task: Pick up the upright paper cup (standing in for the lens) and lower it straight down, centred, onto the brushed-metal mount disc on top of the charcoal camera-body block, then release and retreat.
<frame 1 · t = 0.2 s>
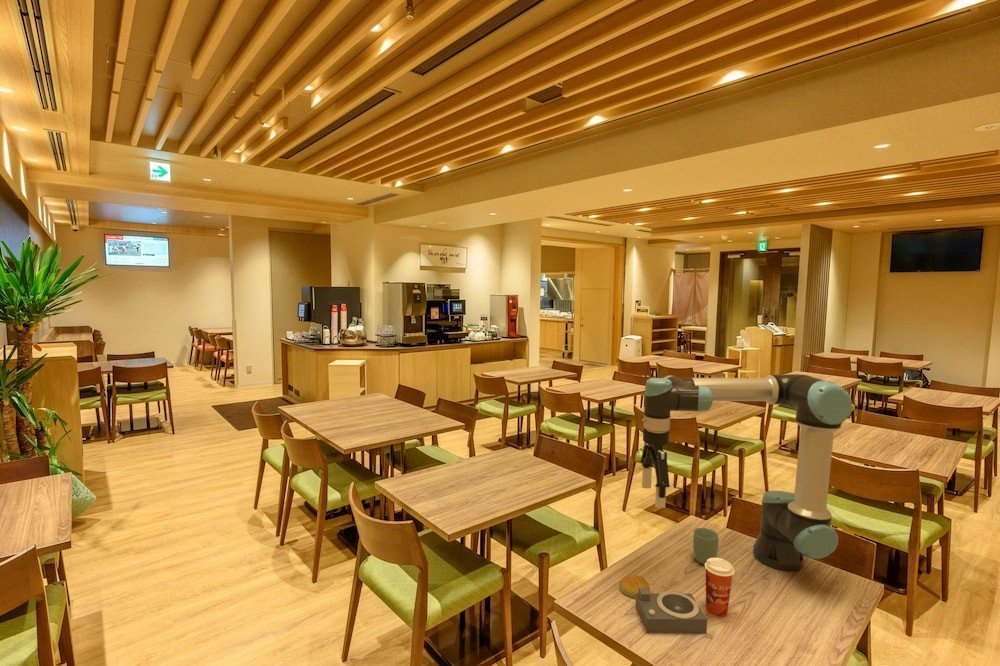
hand: (652, 497, 153), 28 cm above the table, fingers open, 13 cm apart
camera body: (669, 619, 138), on the table
bread roll: (634, 591, 151), on the table
paper cup: (716, 610, 143), on the table
cup: (704, 561, 168), on the table
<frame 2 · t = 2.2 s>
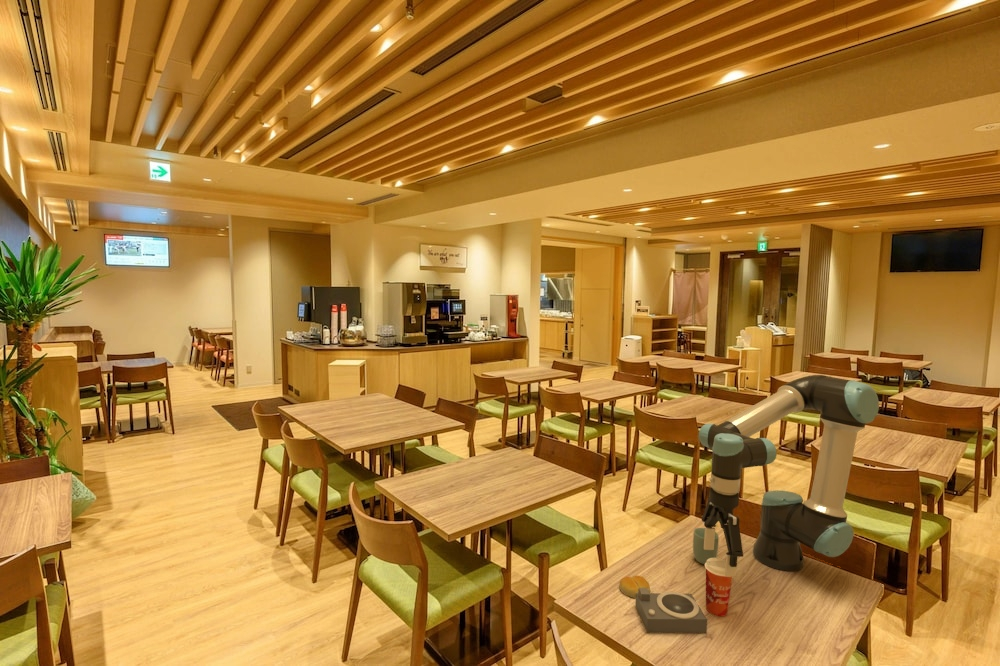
hand: (718, 562, 141), 15 cm above the table, fingers open, 13 cm apart
nothing on the table moved.
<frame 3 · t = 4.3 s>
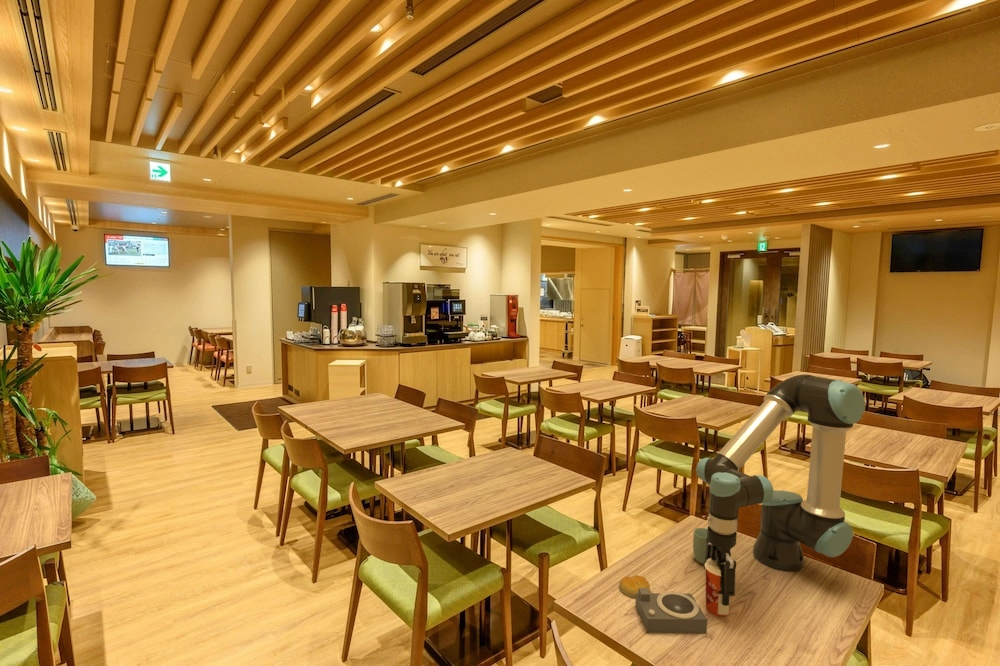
hand: (717, 605, 142), 1 cm above the table, fingers closed on paper cup, 7 cm apart
paper cup: (716, 610, 143), on the table, touching gripper
everything else where it was.
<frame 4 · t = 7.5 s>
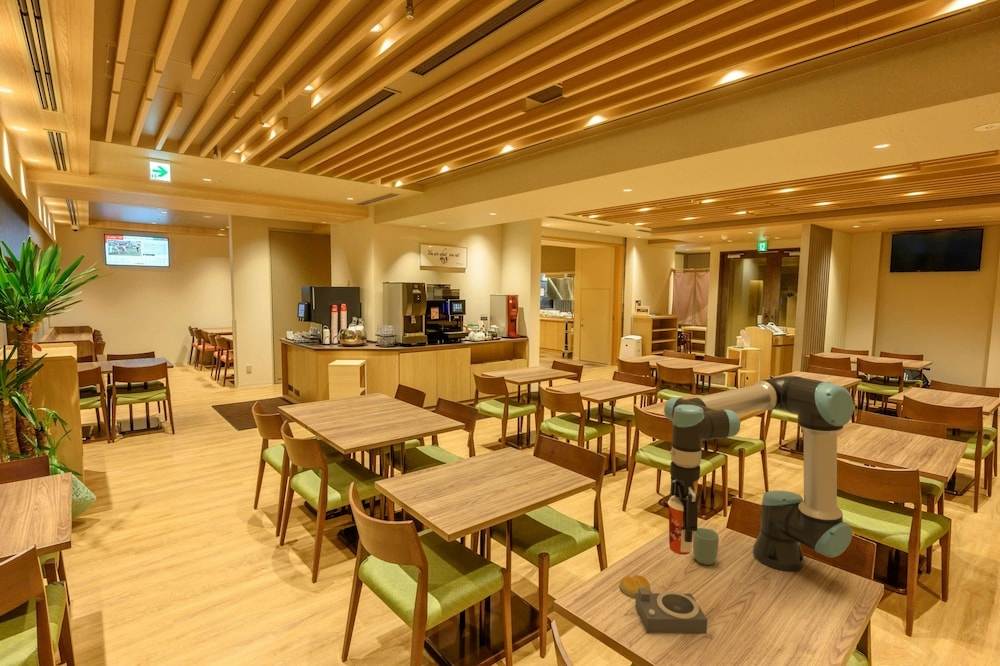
hand: (680, 544, 136), 22 cm above the table, fingers closed on paper cup, 7 cm apart
paper cup: (680, 549, 136), point 20 cm above the table, touching gripper
everything else where it was.
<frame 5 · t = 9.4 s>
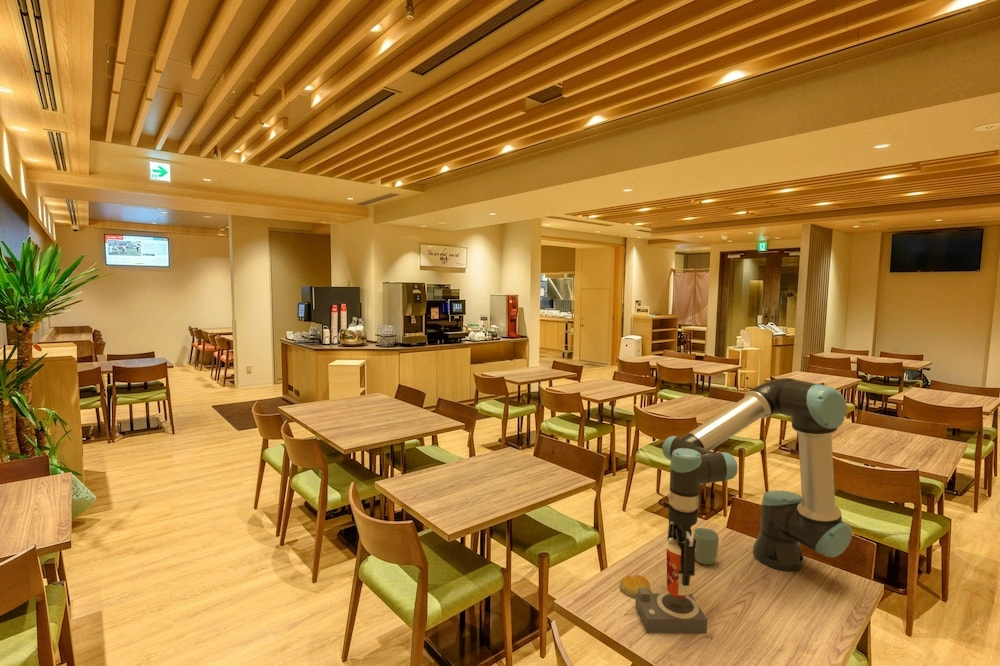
hand: (678, 586, 137), 10 cm above the table, fingers closed on paper cup, 7 cm apart
paper cup: (677, 591, 138), point 8 cm above the table, touching gripper
everything else where it was.
when the fingers open (7 cm above the table, at t = 10.8 s): paper cup drops 1 cm, resting on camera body.
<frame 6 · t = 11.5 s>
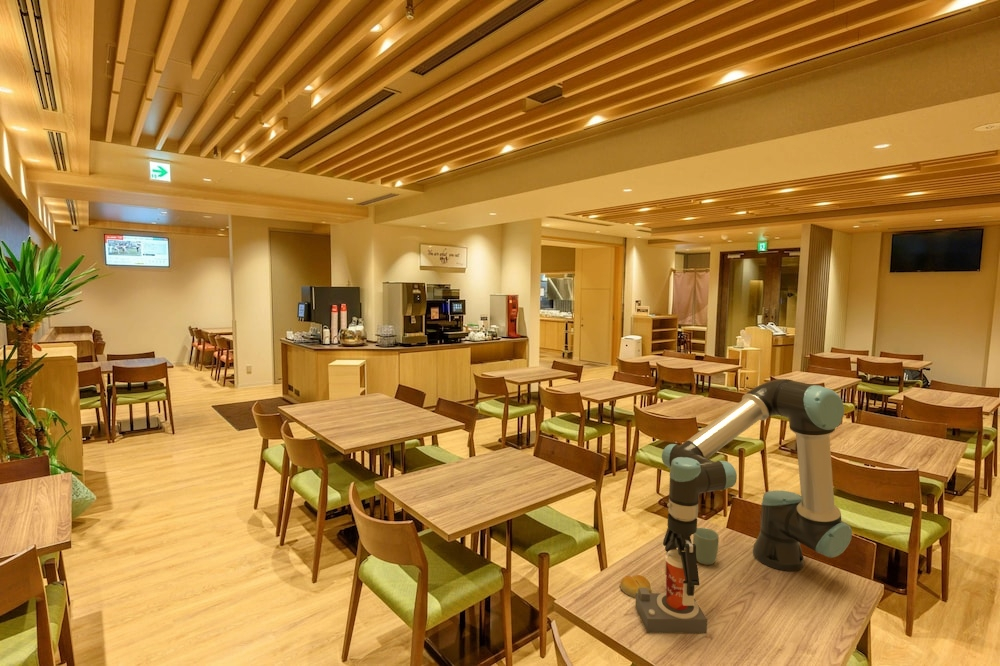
hand: (678, 588, 138), 9 cm above the table, fingers open, 13 cm apart
paper cup: (677, 604, 138), point 4 cm above the table, touching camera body
everything else where it was.
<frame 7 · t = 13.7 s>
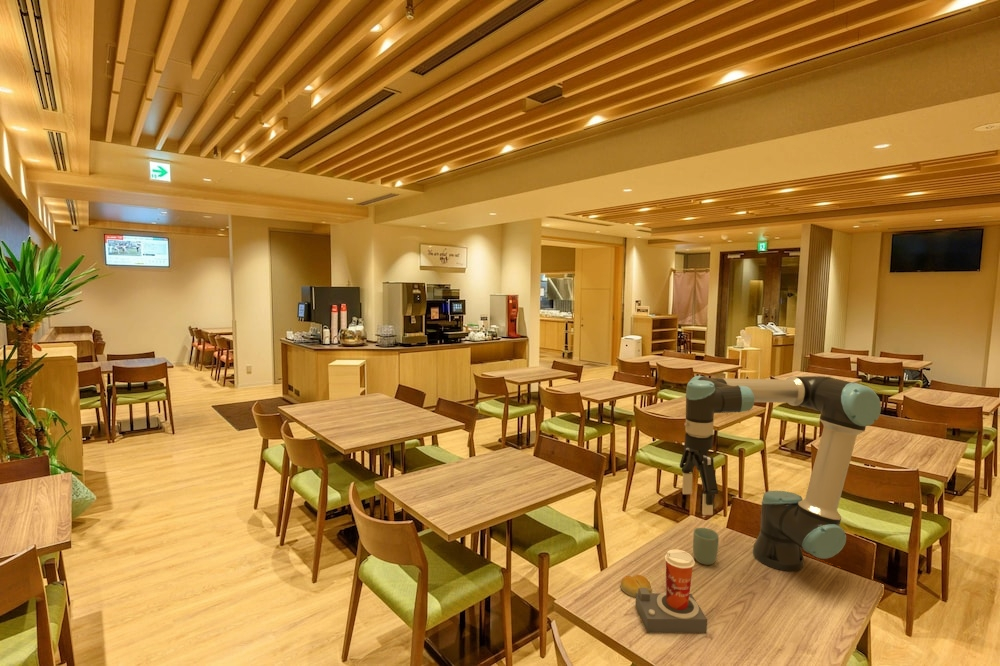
hand: (696, 503, 147), 28 cm above the table, fingers open, 13 cm apart
nothing on the table moved.
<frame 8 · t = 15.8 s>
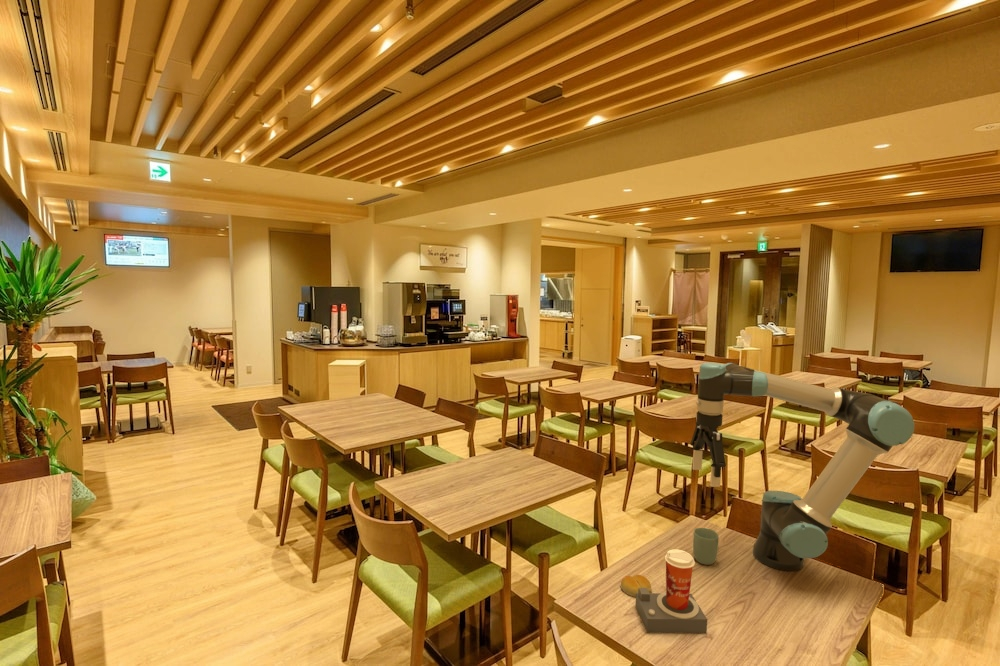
hand: (705, 477, 158), 32 cm above the table, fingers open, 13 cm apart
nothing on the table moved.
at the end: paper cup 0.1 cm from the target spot on the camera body, point 4.4 cm above the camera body's base; paper cup tilted 0°; the gripper is holding nothing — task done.
